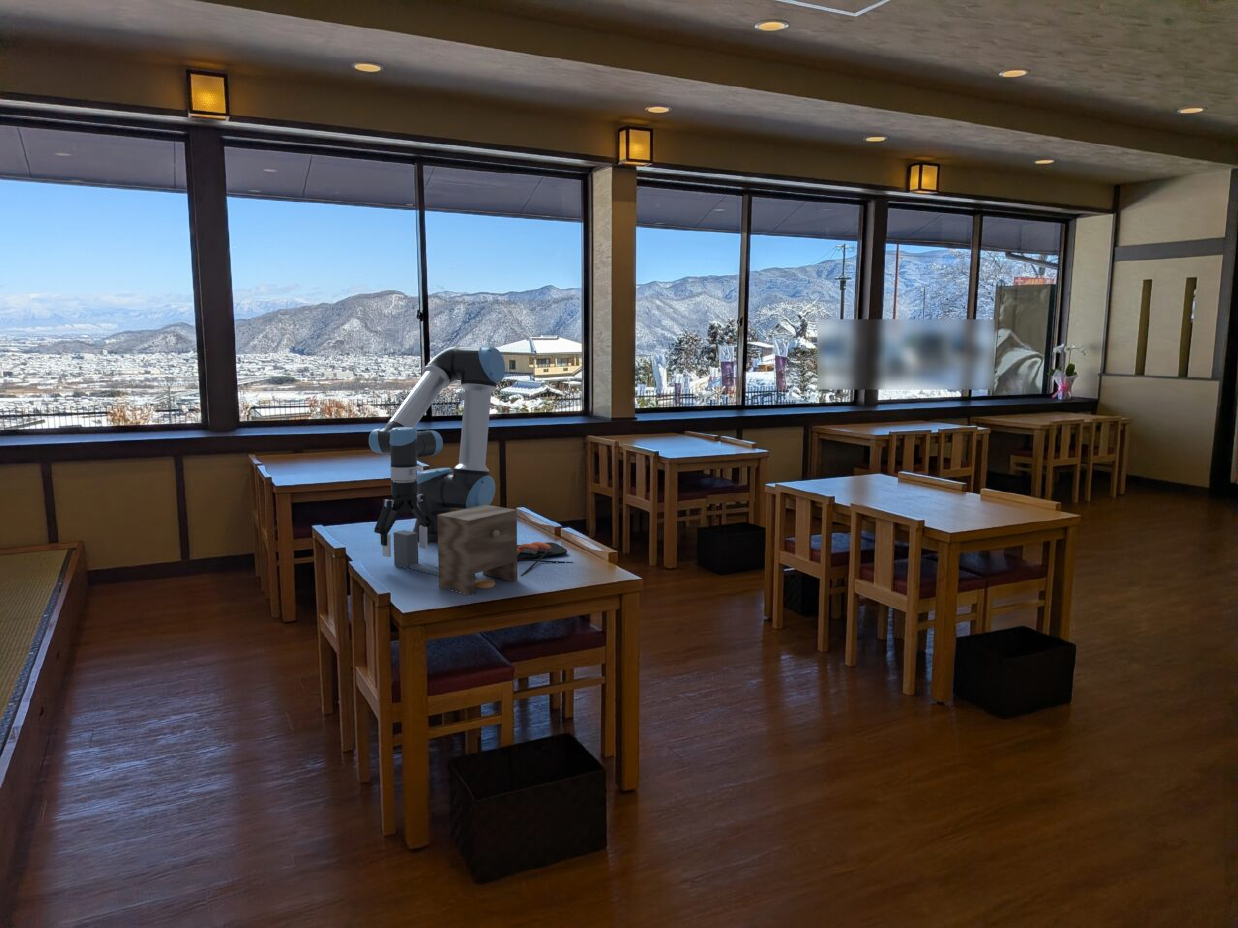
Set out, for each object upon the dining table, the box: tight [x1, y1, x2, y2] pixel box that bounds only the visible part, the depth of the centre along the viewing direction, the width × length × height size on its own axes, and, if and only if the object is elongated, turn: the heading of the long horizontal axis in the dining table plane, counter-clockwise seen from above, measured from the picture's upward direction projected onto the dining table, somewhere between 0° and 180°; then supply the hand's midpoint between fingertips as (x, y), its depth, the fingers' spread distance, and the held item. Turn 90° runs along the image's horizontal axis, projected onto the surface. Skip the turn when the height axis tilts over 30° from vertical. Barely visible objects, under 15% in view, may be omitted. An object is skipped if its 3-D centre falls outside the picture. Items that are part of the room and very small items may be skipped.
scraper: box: [392, 529, 476, 578], centre depth 245 cm, size 27×9×10 cm, turn 54°
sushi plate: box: [517, 541, 574, 577], centre depth 258 cm, size 29×30×4 cm
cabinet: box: [437, 504, 518, 596], centre depth 233 cm, size 13×18×20 cm
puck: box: [474, 578, 496, 589], centre depth 233 cm, size 6×6×1 cm
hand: (405, 552), depth 251 cm, fingers open, 13 cm apart
